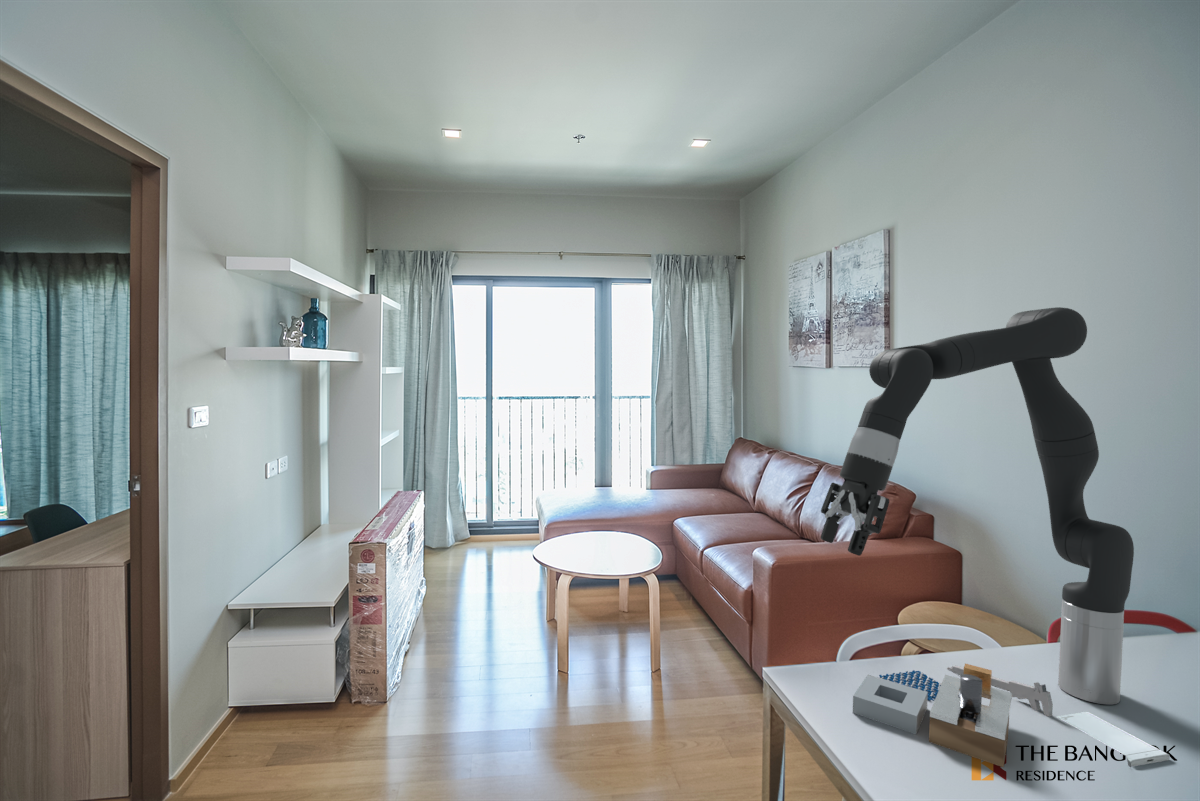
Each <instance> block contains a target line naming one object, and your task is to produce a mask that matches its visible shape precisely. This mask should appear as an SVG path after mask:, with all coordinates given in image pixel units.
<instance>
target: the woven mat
mask: <svg viewBox="0 0 1200 801" xmlns="http://www.w3.org/2000/svg"><path fill="white" fill-rule="evenodd" d="M878 676H879V678H882V679H885V680H889V681H892V682H895V683H899V684H902V685H905V686H909V687H912V688H916V689H919V690H922V691H926V692H928V700H927V701H929V702H931V701H933V702H934V701H935V699H936V696H937V694H938V691H939V689H940V687H941V684H942V682H939V681H937V680H935V678H933V677H930V676H929V675H928V674H925V673H923V672H922V671H920V670H914V669H913V670H912V671H908V670H907V671H905V672H901V671H899V673H895V672H893V673H892V674H889V673H886V674H885V675H882V674H879V675H878ZM958 697H960V694H959V695H958Z"/></svg>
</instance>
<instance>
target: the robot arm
mask: <svg viewBox="0 0 1200 801" xmlns="http://www.w3.org/2000/svg"><path fill="white" fill-rule="evenodd" d="M1087 326H1088V325H1087V323H1086V320H1085V319H1084V317H1083V315H1081V313H1079V312H1078V311H1076V310H1074V309H1072V308H1068V307H1049V308H1048V307H1047V308H1039V309H1033V310H1032V309H1031V310H1024V311H1020V312H1017V313H1016V312H1015V313H1014V314H1013V315H1012V316H1011V317H1010V318H1009V319H1008V321H1007V323H1006V326H1005V327H1003V328H995V329H989V330H981V331H975V332H974V331H973V332H967V333H963V334H962V333H961V334H957V335H952V336H948V337H945V338H940V339H936V340H934V341H931V342H926V343H921V344H916V345H915V344H914V345H907V346H902V347H896V348H890V349H887V350H883V351H881V352H880V353H878V354H877V355H876V356H874V358H873V359H872V360H871V362H870V365H869V370H868V371H869V376H870V378H871V380H872V381H873V383H874V384H876V386H878V387H881V388H882V389H884V390H883V392H882V393H880V394H879V396H876V397H873V398H870V399H869V400H868V401H867V402H866V403H865V405H864V407H863V411H862V412H861V415H860V416H861V417H860V420H859V422H858V426H857V427H856V430H855V432H854V435H853V436H852V438H851V440H850V443H849V447H848V450H847V452H846V455H845V457H844V461H843V463H842V467H841V470H840V472H839V476H840V477H841V478H842V479H843V480H844V482H843V483H842V484H839V483H836V482H831V483H830V486H829V488H828V491H827V494H826V496H825V499H824V501H823V504H822V506H821V509H820V513H821V514H823V515H824V517H825V521H824V522H825V523H824V525H823V528H822V532H821V534H820V539H821V540H822V541H824V542H827V543H829V544H832V543H834V541H835V537H836V535H837V532H838V529H839V527H840V522H841V521H842V520H843V519H844V518H845V517H848V516H850V515H851V517H852V519H854V527H855V529H854V530H853V532H852V536H851V538H850V542H849V544H848V547H847V551H848V552H849V553H851V554H853V555H855V556H859V557H860V556H861V555H862V554H863V551H864V550H865V547H866V544H867V541H868V538H869V536H871V535H872V534H877V535H878V534H881V531H882V528H883V525H884V522H885V519H886V518H885V517H886V515H887V511H888V508H889V505H890V499H889V498H888V497H884V496H882V495H879V494H878V492H883V491H885V490H886V488H887V485H888V482H889V479H890V477H891V474H892V470H893V467H894V464H895V461H896V459H897V456H898V452H899V447H900V442H901V439H902V436H903V433H904V431H905V430H904V429H905V427H906V424H907V421H908V418H909V417H910V415H911V414H912V412H913V411H914V410H915V408H916V407H917V405H918V404H919V402H920V400H921V399H922V397H923V396H924V395H925V393H926V391H927V389H928V388H929V387H930V385H931V382H932V380H943V379H944V380H946V379H950V378H954V377H957V376H962V375H966V374H970V373H974V372H977V371H981V370H985V369H988V368H992V367H996V366H1000V365H1005V364H1008V363H1012V365H1013V368H1014V371H1015V373H1016V375H1017V376H1016V377H1017V379H1018V381H1019V385H1020V387H1021V390H1022V394H1023V398H1024V401H1025V405H1026V409H1027V413H1028V416H1029V419H1030V425H1031V430H1032V435H1033V440H1034V445H1035V448H1036V452H1037V456H1038V458H1039V463H1040V466H1041V470H1042V475H1043V480H1044V484H1045V489H1046V495H1047V502H1048V509H1049V517H1050V518H1049V519H1050V528H1051V536H1052V540H1053V541H1052V542H1053V545H1054V548H1055V551H1056V552H1057V555H1058V556H1060V557H1061V558H1062V559H1063V560H1064V561H1067V563H1068V562H1069V563H1071V564H1073V565H1077V566H1080V567H1083V568H1087V569H1089V570H1088V574H1087V580H1086V581H1074V582H1067V583H1065V584H1063V586H1062V590H1061V597H1062V598H1061V612H1060V613H1061V615H1060V616H1061V619H1060V640H1059V656H1058V657H1059V659H1058V660H1059V663H1058V684H1057V685H1058V686H1059V689H1061V690H1062V691H1063V692H1065V693H1067V694H1069V695H1070V696H1073V697H1075V698H1078V699H1081V700H1083V701H1086V702H1089V703H1090V702H1091V703H1094V704H1099V705H1100V704H1101V705H1116V704H1119V703H1120V702H1121V687H1122V686H1121V683H1122V682H1121V681H1122V665H1123V663H1122V662H1123V641H1124V620H1125V603H1126V601H1127V598H1128V597H1129V594H1130V590H1131V584H1132V583H1131V581H1132V574H1133V564H1134V557H1135V556H1134V555H1135V552H1134V551H1135V546H1134V541H1133V538H1132V536H1131V534H1130V532H1129V531H1128V530H1127V529H1125V528H1124V527H1121V526H1120V525H1117V524H1112V523H1108V522H1103V521H1100V520H1094V519H1090V518H1089V516H1088V514H1087V510H1086V507H1085V501H1084V491H1085V487H1086V485H1087V483H1088V481H1089V479H1090V478H1091V476H1092V474H1093V472H1095V469H1096V467H1097V464H1098V462H1099V458H1100V452H1099V451H1100V450H1099V446H1098V445H1099V444H1098V440H1097V437H1096V436H1097V435H1096V432H1095V427H1094V425H1093V424H1094V423H1093V421H1092V420H1091V417H1090V416H1089V414H1088V413H1087V412H1086V410H1085V409H1084V408H1083V407H1082V406H1081V405H1080V404H1079V402H1078V401H1077V400H1076V399H1075V398H1074V397H1073V396H1072V395H1071V394H1070V393H1069V392H1068V390H1067V389H1065V387H1064V386H1063V385H1062V383H1061V382H1060V380H1059V378H1058V377H1057V375H1056V372H1055V369H1054V367H1053V363H1052V360H1051V359H1058V358H1059V359H1060V358H1064V357H1068V356H1071V355H1073V354H1074V353H1076V352H1078V351H1079V350H1080V349H1081V348H1082V347H1083V346H1084V344H1085V342H1086V340H1087V334H1088V327H1087ZM829 507H830V508H829ZM875 519H876V520H875ZM874 521H875V523H874V524H873V522H874Z"/></svg>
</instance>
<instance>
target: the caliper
mask: <svg viewBox="0 0 1200 801" xmlns="http://www.w3.org/2000/svg"><path fill="white" fill-rule="evenodd" d="M946 670H949V671H951V672H952V673H954V674H956V675H957V674H958V675H957V676H959V675H960V676H959V677H961V675H963V674H964V667H961V666H958V665H952V666H948V667H947V668H946ZM1033 685H1034V686H1032V685H1029V684H1026V683H1022V682H1020V681H1019V682H1018V681H1016V680H1009V681H1007V680H1005V679H1001V678H998V677H994V676H992V680H991V687H993V688H996V689H999V690H1003V691H1006V692H1010V693H1012V698H1017V699H1018V700H1027V701H1028V703H1029V705H1030V708H1031V709H1032V710H1034V711H1036V712H1039V711H1041V710H1042V711H1043V715H1044V716H1046V717H1047V718H1049V717H1053V708H1054V707H1053V700H1052V695H1051V692H1050V691H1048V690H1047V686H1046V684H1045V683H1044V684H1041V683H1040V682H1039V681H1037V682H1034V683H1033ZM1040 702H1041V704H1040ZM1041 706H1042V709H1041Z"/></svg>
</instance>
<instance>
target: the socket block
mask: <svg viewBox="0 0 1200 801" xmlns="http://www.w3.org/2000/svg"><path fill="white" fill-rule="evenodd" d="M962 711H966V710H964V709H962ZM974 714H976V715H978V714H979V713H974ZM975 725H976V723H975V722H972V721H969V720H965V719H962V718H959V721H958V724H957V725H955V724H951V723H948V722H945V721H942V720H939V719H936V718H933V717H930V716H929V727H928V728H929V730H928V732H929V733H928V743H931V744H934V745H937V746H940V747H943V748H945V749H948V750H951V751H955V752H957V753H959V754H963V755H965V756H968V757H972V758H975V759H977V760H981V761H984V762H987V763H989V764H992V765H996V766H998V767H1001V768H1004V765H1005V760H1006V753H1007V747H1008V742H1009V728H1010V716H1009V717H1008V723H1007V729H1006V735H1005V740H1002V739H998V738H995V737H992V736H989V735H986V734H983V733H980V732H976V731H975Z"/></svg>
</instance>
